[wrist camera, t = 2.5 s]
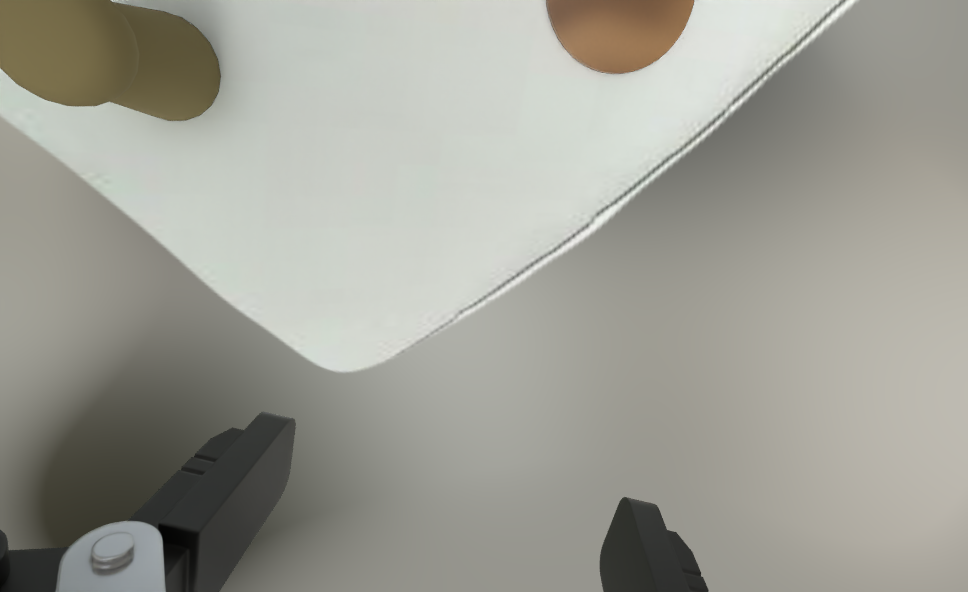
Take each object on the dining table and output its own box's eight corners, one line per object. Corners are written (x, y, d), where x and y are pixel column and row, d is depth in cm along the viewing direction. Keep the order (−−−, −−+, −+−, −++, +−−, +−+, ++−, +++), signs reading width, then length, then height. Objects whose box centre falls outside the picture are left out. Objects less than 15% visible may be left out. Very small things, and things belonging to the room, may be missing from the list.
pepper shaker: (234, 43, 29) (138, -4, 19) (203, 138, 31) (99, 141, 21) (125, -11, 28) (-42, -94, 18) (98, 91, 29) (-72, 70, 19)
